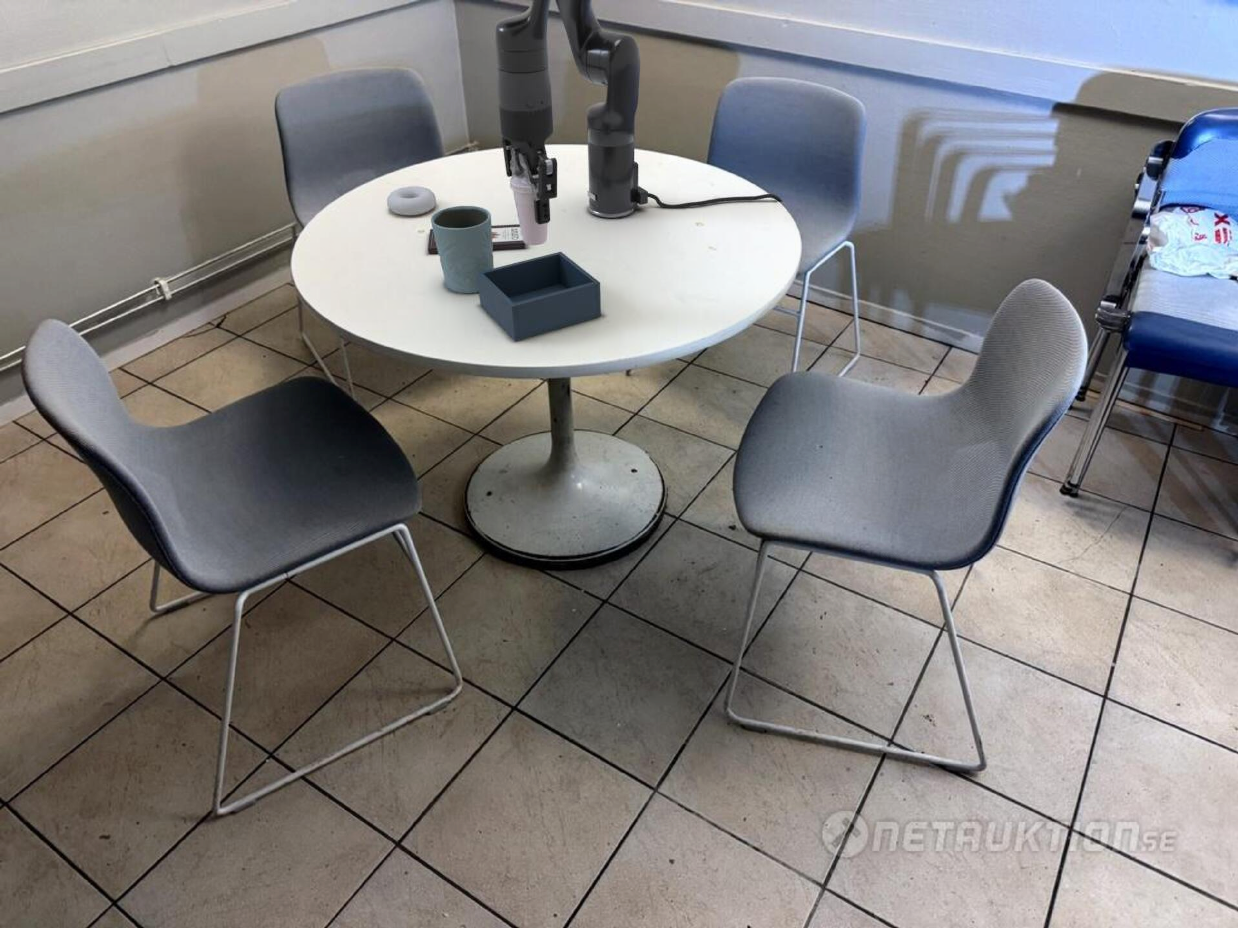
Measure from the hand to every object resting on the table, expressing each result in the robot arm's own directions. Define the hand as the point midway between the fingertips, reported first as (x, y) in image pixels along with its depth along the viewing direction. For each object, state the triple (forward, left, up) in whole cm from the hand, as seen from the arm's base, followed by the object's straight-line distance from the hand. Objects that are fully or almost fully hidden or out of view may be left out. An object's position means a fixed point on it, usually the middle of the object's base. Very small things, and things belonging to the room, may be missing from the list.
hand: (533, 214), depth 129 cm
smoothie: (0, 0, -4) cm, 4 cm away
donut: (+3, -53, -17) cm, 56 cm away
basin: (0, 0, -17) cm, 17 cm away
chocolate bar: (-2, -31, -17) cm, 35 cm away
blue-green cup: (+6, -16, -17) cm, 24 cm away
